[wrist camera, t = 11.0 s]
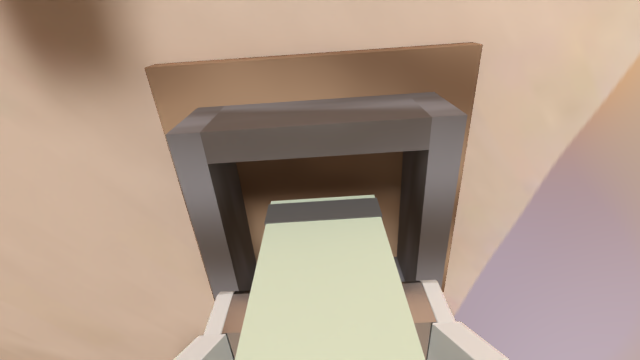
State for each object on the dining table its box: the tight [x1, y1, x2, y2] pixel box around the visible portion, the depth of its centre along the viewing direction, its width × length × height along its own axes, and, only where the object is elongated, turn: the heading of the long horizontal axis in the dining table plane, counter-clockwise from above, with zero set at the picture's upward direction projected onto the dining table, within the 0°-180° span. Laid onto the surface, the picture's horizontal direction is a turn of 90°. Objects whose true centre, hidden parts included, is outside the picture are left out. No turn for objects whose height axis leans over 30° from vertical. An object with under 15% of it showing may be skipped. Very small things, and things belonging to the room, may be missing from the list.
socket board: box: [145, 42, 483, 301], centre depth 16 cm, size 14×14×4 cm
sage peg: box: [235, 195, 425, 360], centre depth 10 cm, size 4×4×8 cm
